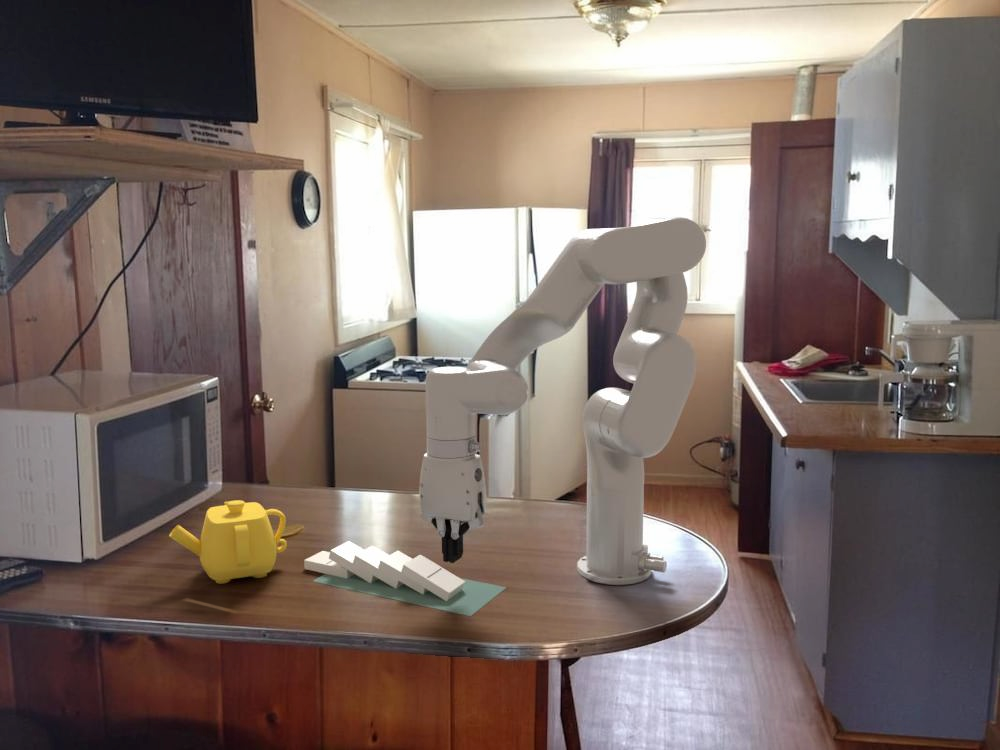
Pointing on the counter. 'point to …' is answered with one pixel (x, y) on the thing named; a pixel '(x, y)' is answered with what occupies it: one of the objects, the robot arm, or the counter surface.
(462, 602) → the runner mat
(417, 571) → the domino
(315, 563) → the domino
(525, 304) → the robot arm
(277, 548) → the teapot
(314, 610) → the counter surface
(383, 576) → the domino
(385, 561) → the domino
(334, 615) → the counter surface
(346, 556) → the domino
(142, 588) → the counter surface
